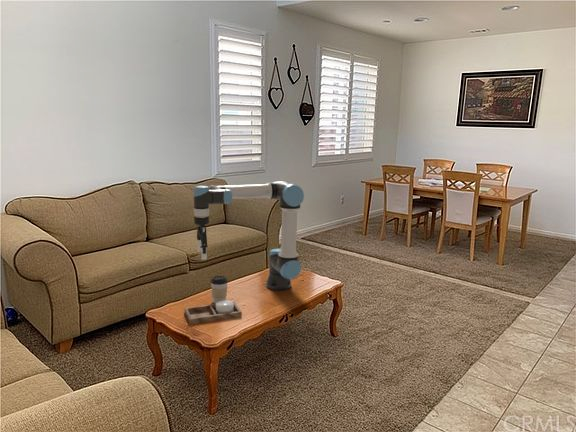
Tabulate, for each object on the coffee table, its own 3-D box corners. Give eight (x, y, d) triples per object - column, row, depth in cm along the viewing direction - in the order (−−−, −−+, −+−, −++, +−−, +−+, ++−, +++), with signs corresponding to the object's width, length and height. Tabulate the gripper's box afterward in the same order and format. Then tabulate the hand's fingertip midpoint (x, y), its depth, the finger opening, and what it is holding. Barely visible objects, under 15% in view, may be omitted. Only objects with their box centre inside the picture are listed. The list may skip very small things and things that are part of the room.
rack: (234, 307, 235) (234, 301, 235) (241, 318, 223) (241, 311, 222) (184, 314, 225) (184, 307, 225) (189, 326, 213) (189, 319, 212)
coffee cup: (209, 301, 242) (209, 275, 239) (225, 299, 246) (225, 273, 243) (213, 307, 234) (213, 281, 231) (229, 305, 238) (229, 279, 235)
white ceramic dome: (231, 308, 232) (231, 299, 231) (235, 315, 224) (235, 306, 223) (214, 310, 229) (214, 301, 227) (218, 317, 220) (218, 308, 219)
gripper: (191, 211, 237) (191, 249, 242) (197, 221, 214) (198, 263, 219) (205, 211, 240) (205, 248, 244) (213, 221, 217) (213, 262, 221)
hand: (202, 255), depth 232 cm, fingers open, 13 cm apart
